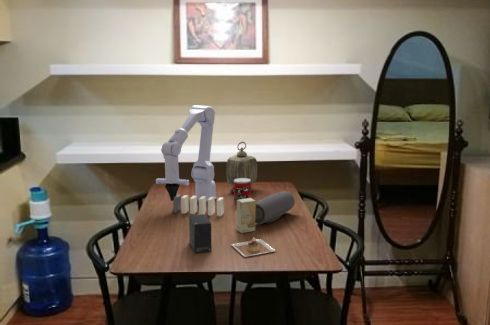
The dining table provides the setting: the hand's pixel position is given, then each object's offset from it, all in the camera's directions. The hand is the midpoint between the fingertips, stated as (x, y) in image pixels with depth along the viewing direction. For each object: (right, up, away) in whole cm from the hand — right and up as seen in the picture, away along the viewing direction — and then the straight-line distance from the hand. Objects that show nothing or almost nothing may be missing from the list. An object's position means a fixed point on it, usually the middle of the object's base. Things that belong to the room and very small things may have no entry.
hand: (173, 200), depth 208 cm
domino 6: (+21, -6, -4) cm, 22 cm away
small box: (+16, -14, -40) cm, 45 cm away
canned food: (+30, -3, +12) cm, 32 cm away
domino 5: (+17, -6, -3) cm, 18 cm away
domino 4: (+13, -5, -2) cm, 14 cm away
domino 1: (+1, -5, +1) cm, 5 cm away
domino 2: (+5, -5, 0) cm, 7 cm away
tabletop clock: (+30, +2, +32) cm, 44 cm away
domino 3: (+9, -5, -1) cm, 11 cm away
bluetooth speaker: (+42, -7, -10) cm, 44 cm away
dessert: (+34, -14, -41) cm, 55 cm away
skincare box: (+32, -10, -23) cm, 41 cm away
